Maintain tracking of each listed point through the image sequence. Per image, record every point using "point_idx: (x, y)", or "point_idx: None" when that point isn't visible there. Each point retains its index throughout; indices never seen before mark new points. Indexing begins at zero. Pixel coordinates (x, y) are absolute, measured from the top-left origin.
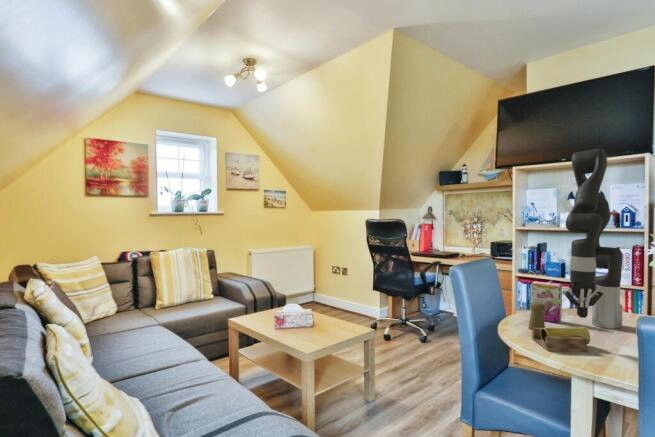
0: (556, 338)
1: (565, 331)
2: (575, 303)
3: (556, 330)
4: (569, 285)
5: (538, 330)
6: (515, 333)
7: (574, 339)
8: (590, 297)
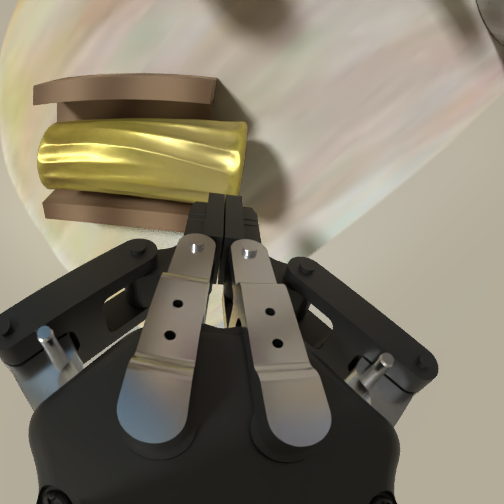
0: (74, 220)
1: (120, 191)
2: (132, 305)
3: (82, 183)
4: (30, 445)
5: (52, 102)
6: (43, 14)
7: (141, 225)
8: (340, 318)
